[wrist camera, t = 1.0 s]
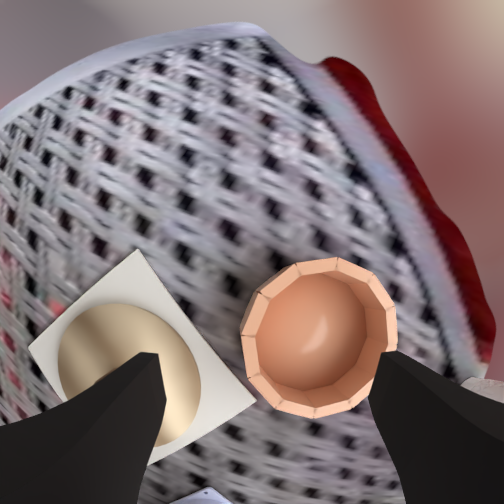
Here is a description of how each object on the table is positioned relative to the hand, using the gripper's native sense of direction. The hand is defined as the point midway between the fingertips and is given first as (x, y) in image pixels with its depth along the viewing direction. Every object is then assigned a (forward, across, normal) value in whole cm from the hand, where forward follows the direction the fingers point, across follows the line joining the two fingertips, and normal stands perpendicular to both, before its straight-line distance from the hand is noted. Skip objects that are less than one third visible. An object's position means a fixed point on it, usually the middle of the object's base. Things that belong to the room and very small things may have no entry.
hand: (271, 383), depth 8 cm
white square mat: (+14, +12, +12) cm, 22 cm away
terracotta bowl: (+16, -5, +7) cm, 19 cm away
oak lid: (+13, +12, +12) cm, 21 cm away
